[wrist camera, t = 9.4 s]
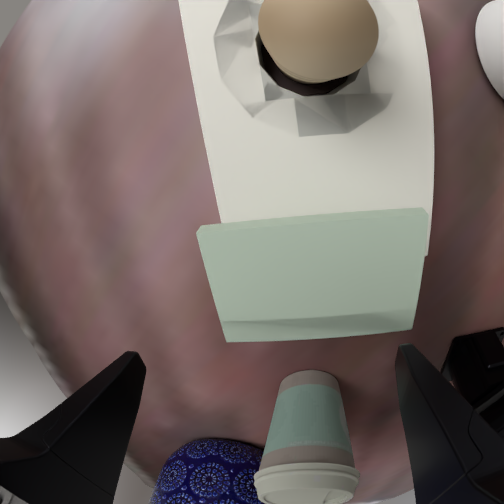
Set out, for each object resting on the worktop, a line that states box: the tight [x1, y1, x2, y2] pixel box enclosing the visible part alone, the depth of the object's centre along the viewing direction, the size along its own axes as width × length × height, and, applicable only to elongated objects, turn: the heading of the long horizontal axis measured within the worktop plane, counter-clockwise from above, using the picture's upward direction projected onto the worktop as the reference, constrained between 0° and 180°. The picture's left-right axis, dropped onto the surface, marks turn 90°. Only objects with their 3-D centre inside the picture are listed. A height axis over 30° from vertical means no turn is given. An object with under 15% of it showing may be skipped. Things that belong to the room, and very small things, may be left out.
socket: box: [179, 0, 434, 256], centre depth 15 cm, size 17×12×3 cm
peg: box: [258, 0, 379, 84], centre depth 11 cm, size 4×4×8 cm
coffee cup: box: [254, 370, 360, 504], centre depth 23 cm, size 8×8×12 cm
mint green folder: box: [196, 207, 429, 342], centre depth 17 cm, size 6×10×7 cm, turn 99°
